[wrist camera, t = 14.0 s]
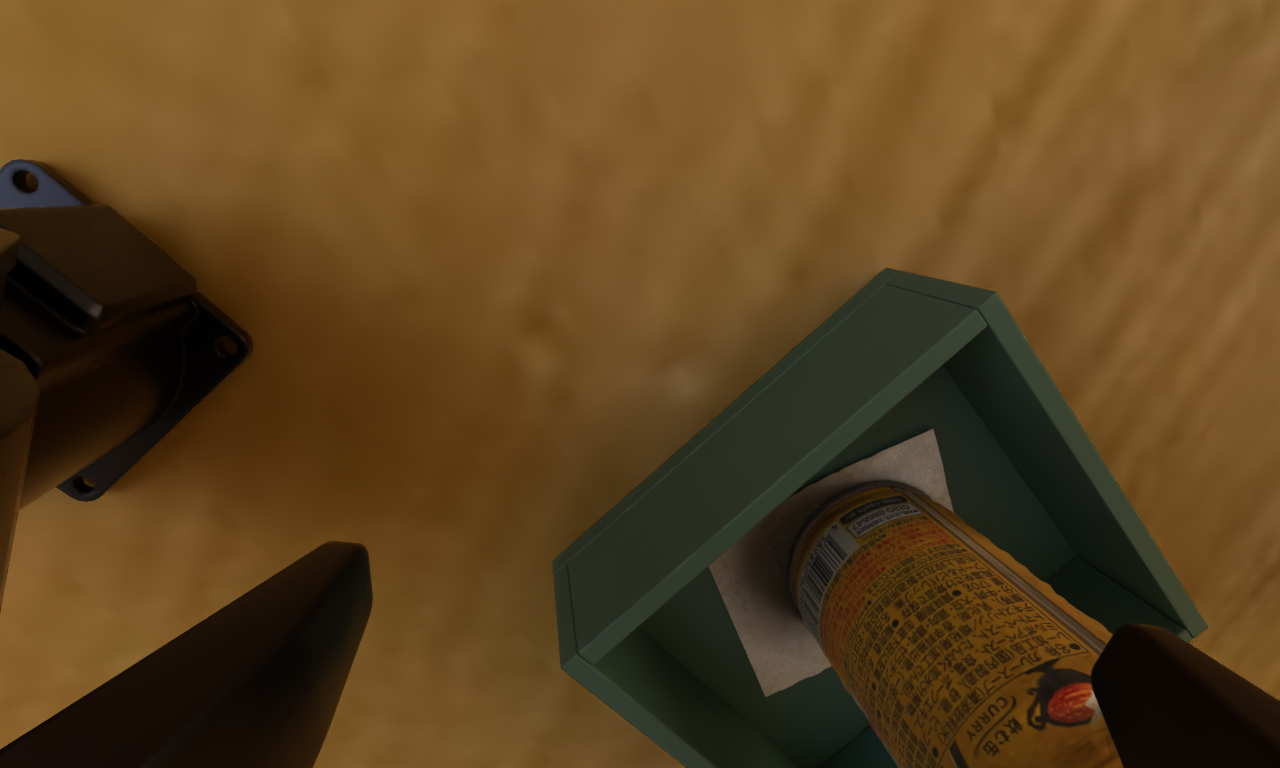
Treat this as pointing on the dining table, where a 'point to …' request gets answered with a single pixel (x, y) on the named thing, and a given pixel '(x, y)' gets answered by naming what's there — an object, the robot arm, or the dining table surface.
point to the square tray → (812, 450)
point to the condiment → (917, 621)
